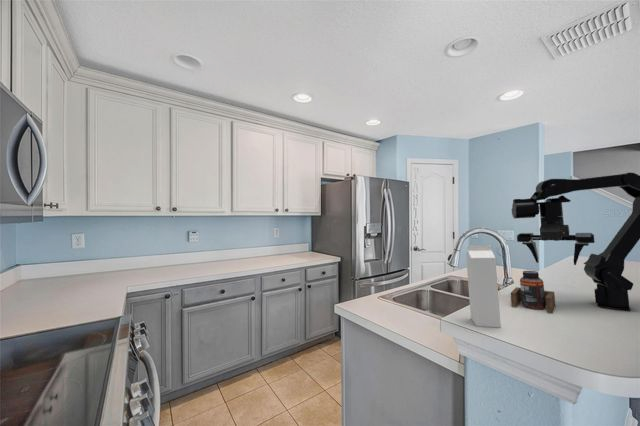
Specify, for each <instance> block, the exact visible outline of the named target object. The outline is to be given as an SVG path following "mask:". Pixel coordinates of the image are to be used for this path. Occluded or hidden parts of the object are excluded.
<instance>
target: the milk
mask: <svg viewBox="0 0 640 426" xmlns="http://www.w3.org/2000/svg"><path fill="white" fill-rule="evenodd" d="M465 257H466V258H465V259H466V260H465V261H466V271H467V285H468V297H469V308H470V309H469V311H470V313H469V314H470V320H472V323H474V325H475V326H476V327H483V328H484V327H485V328H486V327H487V328H502V323H501V322H502V321H501V309H500V299H499V298H500V297H499V296H500V295H499V287H498V272H497V261H496V260H497V259H496V256H495V253H494V252H493V249H492V245H490V244H476V245H475V244H474V245H473V244H472V245H471V244H470V245H467V252H466V255H465Z"/></svg>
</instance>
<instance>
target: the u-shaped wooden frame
mask: <svg viewBox="0 0 640 426" xmlns="http://www.w3.org/2000/svg"><path fill="white" fill-rule="evenodd" d="M544 293H545V302H546V308H545V309H546V313H547V314H553V313H554V310H555V308H556V298H555V291H551V290H544ZM510 303H511V307H512V308H517V307H518V306H519V304H520V303H522V296H521V287H517V286H516V287H515V288H514V289H513V290H512V291H511V292H510Z"/></svg>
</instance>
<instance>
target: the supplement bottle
mask: <svg viewBox="0 0 640 426" xmlns="http://www.w3.org/2000/svg"><path fill="white" fill-rule="evenodd" d="M519 284H520V285H519V286H520V288H521V296H522V302H521V304H522V306H523V307H525V308H527V309H528V308H529V309H532V310H543V309H547V308H546V302H545V293H544V291H545V285H544V280H543V279H542V278H540V277H539V272H538V271H535V270H523V271H522V276H521V277H520V278H519Z"/></svg>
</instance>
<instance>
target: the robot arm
mask: <svg viewBox="0 0 640 426" xmlns="http://www.w3.org/2000/svg"><path fill="white" fill-rule="evenodd" d="M615 187H617V188H620V189H622V190H623V192H625V193H626V194H627V195H629V196H631V198H634V200H633V202H632V212H631V214H630V215H629V216H628V218H627V219H626V220H625V221H624V223H623V225H622V226H621V227H620V228H619V230H618V231H617V232H616V234H615V235H614V237H613V239H611V241H610V243H609V244H608V245H607V246H606V248H605V249H604V250H603V251H602V252H601V253H598V254H596V253H590V255H589V256H588V258H587V260H586V261H585V262H583V265H584V267H583V270H584V273H585V275H586V276H587V277H589V278H591V280H592V281H593V283H594V284H596V288H594V298H595V299H594V301H595V303H596V304H597V307H600V308H607V309H615V310H620V311H621V310H623V311H628V312H630V311H631V307H630V299H629V291H631V290H632V289H633V286H634V283H633V282H632V281H630V280H629V279H628V278H626V277H624V276H623V272H624V270H625V260H626V259H627V257H628V255H629V254H630V253H631V251H632V250H633V249H634V248H635V246H636V244H638V242H639V240H640V174H637V173H635V172H626V173H619V174H612V175H611V174H610V175H603V176H602V175H601V176H596V177H587V178H578V179H575V178H573V179H568V178H549V179H546V180H543V181H540V182H539V183H538V184H537V185H536V186H535V192H534V193H533V194H532V195H531V197H530V198H515V199H513V200H512V205H511V206H512V208H511V215H512V217H513V219H528V218H529V219H532V218H533V219H534V218H535V217H536V216H537V215H540V216H539V219H540V228H539V234H534V232H521V233H518V234H516V240H517V243H522V245H524V246H525V245H526V247H528V249H529V251H530V252H531V254H532V256H533V259H534V260H535V262H536V264H537V263H539V253H538V249H537V243H536V241H555V242H557V241H569V242H570V241H575V243H574V250H573V251H574V253H573V266H576V265H577V262H578V259H579V256H580V255H581V252H582V250H583V248H584V247H585V246H589V245H590V244H595V242H596V241H595V234H593V233H592V232H575V234H570V226H569V224H564V222H565V221H564V210H563V203H570V202H571V201H572V200H571V199H569V198H568V197H566V196H565V195H564V194H568V193H572V192H579V191H587V190H588V191H589V190H599V189H608V188H609V189H610V188H615ZM555 196H558V197H555ZM550 197H552V198H550ZM553 197H554V198H553ZM543 200H545V201H543ZM538 201H539V202H538ZM541 201H542V202H541Z"/></svg>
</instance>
